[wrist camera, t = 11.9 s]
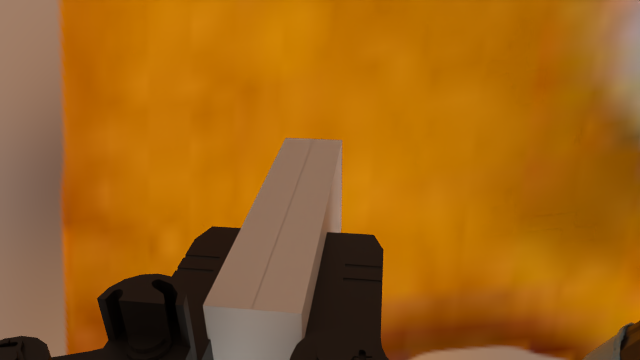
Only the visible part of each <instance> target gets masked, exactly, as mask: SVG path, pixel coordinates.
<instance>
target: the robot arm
mask: <svg viewBox="0 0 640 360" xmlns="http://www.w3.org/2000/svg"><path fill="white" fill-rule="evenodd" d="M341 199H342V140H324V139H299V138H286V139H285V141H284V143H283V145H282V147H281V149H280V151H279V153H278V155H277V157H276V159H275V161H274V163H273V165H272V167H271V169H270V171H269V173H268V175H267V177H266V179H265V181H264V183H263V185H262V187H261V189H260V191H259V193H258V195H257V197H256V199H255V201H254V203H253V205H252V207H251V209H250V211H249V213H248V215H247V217H246V219H245V221H244V223H243V225H242V227H241V228H228V227H211V228H210V229H208V230H207V231H206V232H204V233H203V234H202V235H200V236H199V237H197V238H196V239H195V240H194V242H193V243H192V245H191V247H190V248H189V250H188V251H187V253H186V256H185V258H183V259H182V261H181V263H180V264H179V266H178V270H177V271H175V272H174V274H173V276H172V277H171V276H166V275H162V274H144V275H139V276H135V277H131V278H128V279H124V280H122V281H121V282H119V283H117V284H115V285H113V286H111V287H109V288H108V289H107V290H106V291H105V292H104V293H103V294H102V295H100V296H99V297H98V298H97V300H98V303H99V307H100V311H101V314H102V318H103V321H104V325H105V329H106V332H107V336H108V342H107V343H106V345H105V346H104V348H101V349H97V350H93V351H89V352H82V353H76V354H70V355H64V356H58V357H52V358H51V356H50V353H49V350H48V347H47V344H45V343H44V342H42V341H41V340H39V339H38V338H34V337H26V336H19V337H13V338H7V339H3V340H0V360H389V359H388V358H387V357H386V355H385V353H384V351H383V349H382V345H381V306H382V274H383V249H382V247H381V246H380V244H379V242H378V241H377V239H376V238H375V236H374V235H367V234H351V233H341ZM583 360H640V321H639V322H637V323H635V324H634V323H629V324H627V325H625V326H623V327H622V328H621V329H620V330H619V332H618V334H617V335H615V336H614V337H612V338H611V339H609V340H608V341H607V342H605V343H604V344H602V345H601V346H599V347H598V348H596V349H595V350H593V351H592V352H590V353H589V354H587V355H586V356H585V357H584V358H583Z"/></svg>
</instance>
